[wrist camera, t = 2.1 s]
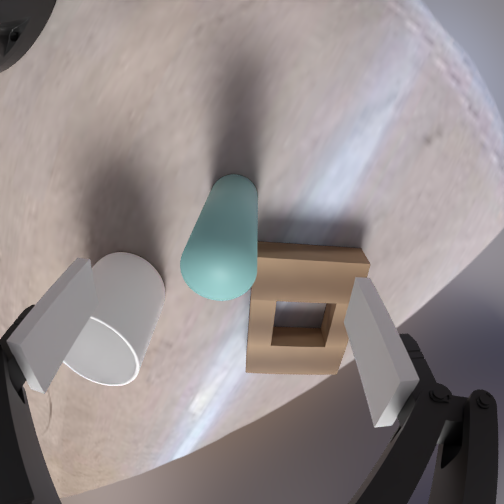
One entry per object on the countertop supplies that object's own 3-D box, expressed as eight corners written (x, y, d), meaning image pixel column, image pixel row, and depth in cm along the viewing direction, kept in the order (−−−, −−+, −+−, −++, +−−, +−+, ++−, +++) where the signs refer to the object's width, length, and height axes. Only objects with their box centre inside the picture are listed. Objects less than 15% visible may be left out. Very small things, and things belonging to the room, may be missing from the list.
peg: (211, 173, 26) (178, 231, 16) (259, 175, 26) (260, 236, 16) (210, 217, 28) (182, 297, 18) (256, 220, 28) (254, 302, 18)
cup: (183, 295, 32) (160, 369, 23) (112, 338, 36) (82, 402, 26) (128, 233, 29) (81, 294, 20) (64, 289, 32) (20, 347, 23)
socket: (254, 241, 29) (254, 257, 27) (361, 248, 29) (370, 264, 27) (246, 353, 36) (245, 372, 33) (332, 355, 36) (336, 374, 33)
